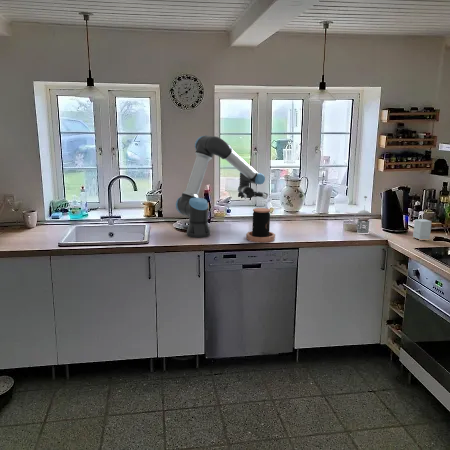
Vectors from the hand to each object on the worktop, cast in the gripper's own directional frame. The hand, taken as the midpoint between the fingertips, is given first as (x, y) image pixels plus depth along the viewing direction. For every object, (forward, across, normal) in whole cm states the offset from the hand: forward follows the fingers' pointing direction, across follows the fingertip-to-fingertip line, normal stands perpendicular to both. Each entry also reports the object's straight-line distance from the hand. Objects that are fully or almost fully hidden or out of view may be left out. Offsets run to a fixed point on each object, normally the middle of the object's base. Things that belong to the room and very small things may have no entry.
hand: (256, 197), depth 281 cm
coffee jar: (+14, 0, -24) cm, 28 cm away
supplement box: (+31, -101, -22) cm, 108 cm away
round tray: (+15, 0, -24) cm, 28 cm away
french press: (+9, -72, -22) cm, 76 cm away
